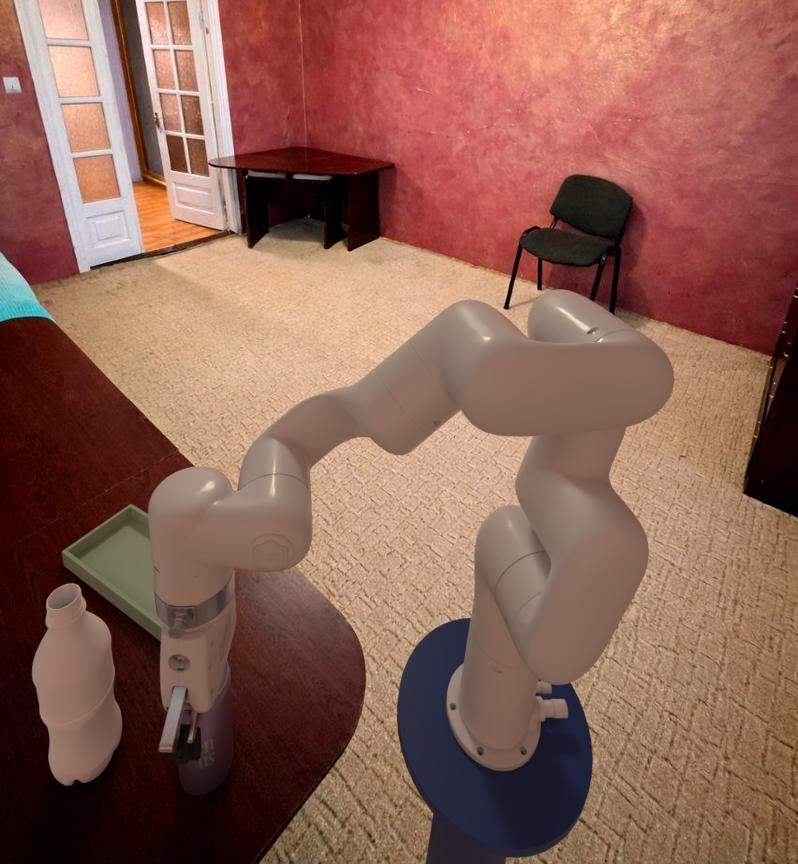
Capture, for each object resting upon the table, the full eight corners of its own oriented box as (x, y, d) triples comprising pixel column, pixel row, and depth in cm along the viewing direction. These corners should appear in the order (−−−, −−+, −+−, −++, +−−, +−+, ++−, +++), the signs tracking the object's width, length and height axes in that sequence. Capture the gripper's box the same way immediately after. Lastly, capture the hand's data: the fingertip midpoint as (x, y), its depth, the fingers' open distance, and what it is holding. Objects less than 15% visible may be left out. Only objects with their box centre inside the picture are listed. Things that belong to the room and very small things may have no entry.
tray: (231, 579, 80) (230, 565, 79) (166, 646, 69) (165, 631, 68) (132, 516, 90) (131, 503, 89) (63, 565, 80) (61, 551, 79)
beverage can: (235, 730, 60) (233, 643, 56) (230, 792, 55) (227, 701, 51) (184, 740, 59) (178, 652, 55) (174, 805, 54) (166, 713, 49)
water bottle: (137, 738, 59) (119, 582, 52) (79, 811, 53) (49, 644, 45) (97, 708, 62) (75, 555, 54) (38, 773, 55) (3, 610, 48)
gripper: (204, 680, 41) (210, 807, 46) (254, 518, 58) (254, 624, 62) (113, 679, 40) (129, 807, 45) (190, 516, 57) (195, 623, 62)
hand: (201, 701), depth 54 cm, fingers open, 9 cm apart
